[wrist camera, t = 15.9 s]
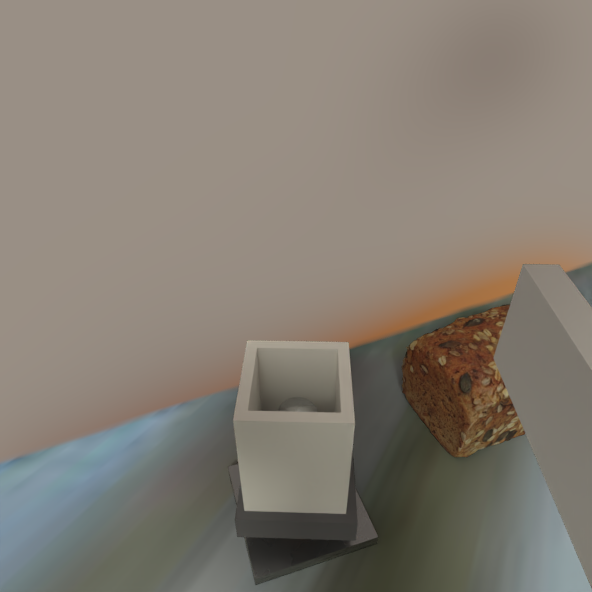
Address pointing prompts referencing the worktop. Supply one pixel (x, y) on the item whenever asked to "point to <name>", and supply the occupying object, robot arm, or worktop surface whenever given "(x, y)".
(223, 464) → the worktop surface
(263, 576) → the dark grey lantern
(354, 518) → the dark grey square slab
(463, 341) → the bread
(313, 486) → the sleeve
